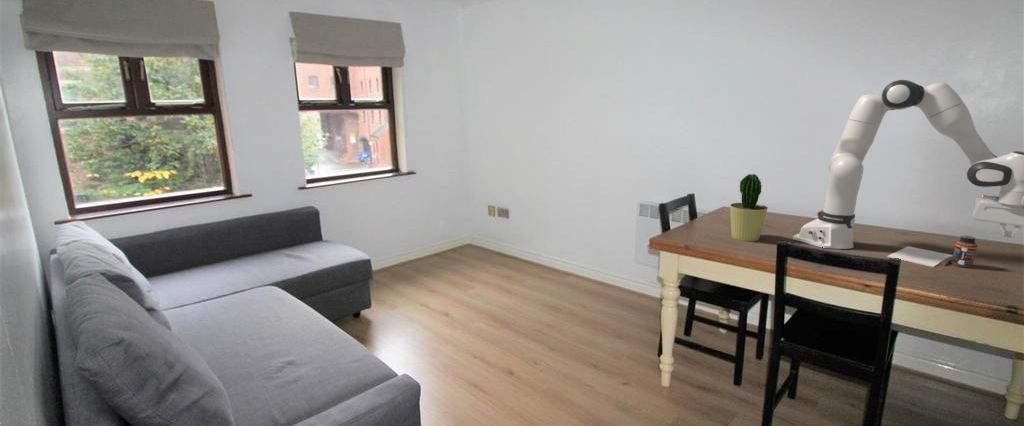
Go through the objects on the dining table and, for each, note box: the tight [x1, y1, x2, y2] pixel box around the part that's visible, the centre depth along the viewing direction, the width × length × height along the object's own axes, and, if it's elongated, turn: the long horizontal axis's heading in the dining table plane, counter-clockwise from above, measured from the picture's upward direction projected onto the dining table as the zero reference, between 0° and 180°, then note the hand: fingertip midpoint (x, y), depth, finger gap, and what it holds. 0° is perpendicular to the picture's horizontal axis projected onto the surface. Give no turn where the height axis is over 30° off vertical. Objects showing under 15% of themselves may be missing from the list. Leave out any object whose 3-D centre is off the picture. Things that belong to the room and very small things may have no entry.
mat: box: [886, 245, 953, 268], centre depth 193 cm, size 15×22×1 cm, turn 124°
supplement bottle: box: [951, 235, 978, 269], centre depth 181 cm, size 6×6×11 cm
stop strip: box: [938, 256, 953, 267], centre depth 186 cm, size 2×12×1 cm, turn 124°
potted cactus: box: [729, 173, 768, 242], centre depth 217 cm, size 15×15×30 cm
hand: (1007, 236), depth 171 cm, fingers closed
